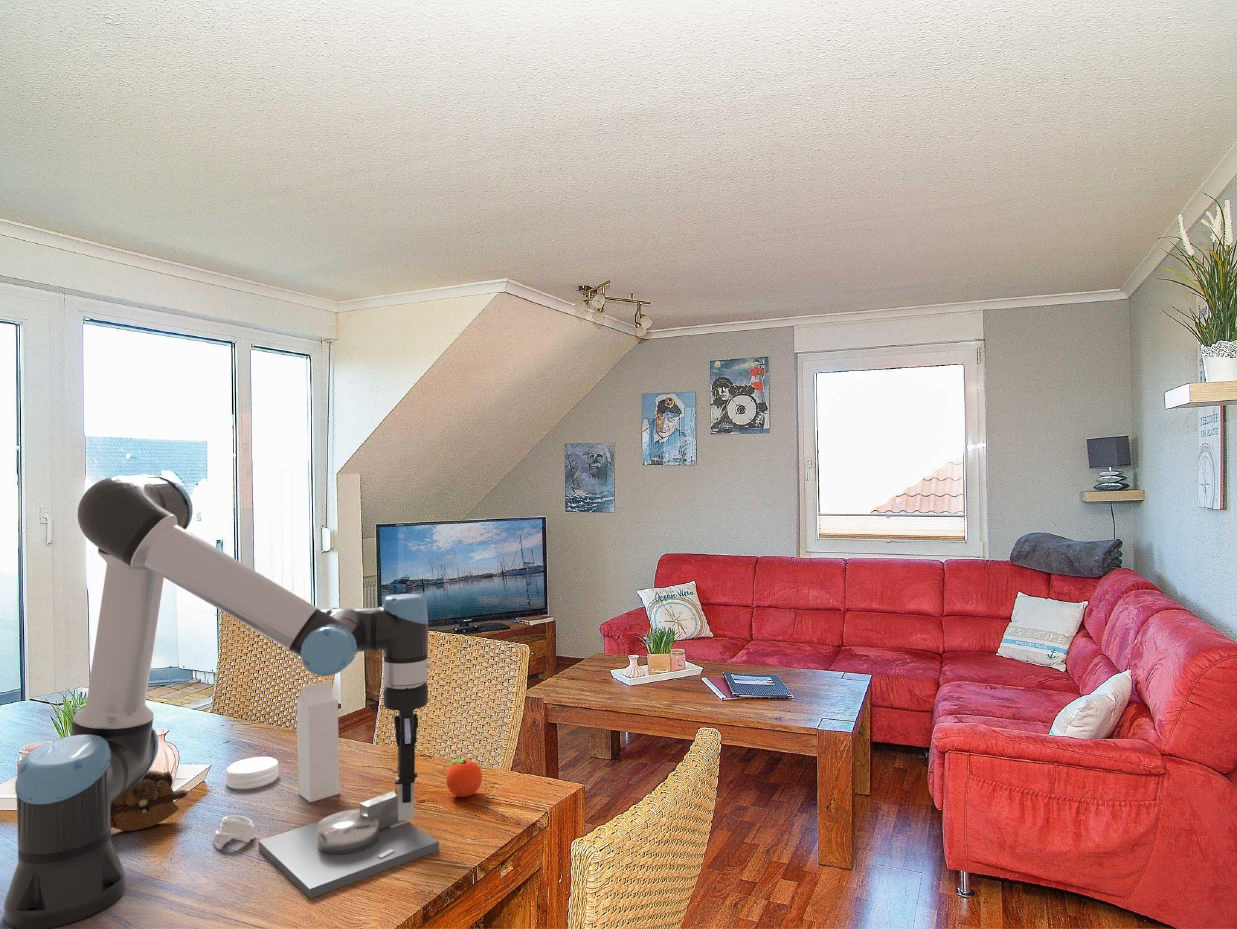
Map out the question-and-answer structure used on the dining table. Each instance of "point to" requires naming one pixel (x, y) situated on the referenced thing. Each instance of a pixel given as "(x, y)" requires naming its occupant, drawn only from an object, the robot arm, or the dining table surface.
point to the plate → (343, 856)
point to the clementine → (463, 778)
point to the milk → (317, 742)
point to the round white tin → (252, 773)
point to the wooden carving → (146, 802)
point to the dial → (358, 824)
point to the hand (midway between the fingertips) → (406, 818)
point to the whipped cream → (234, 830)
